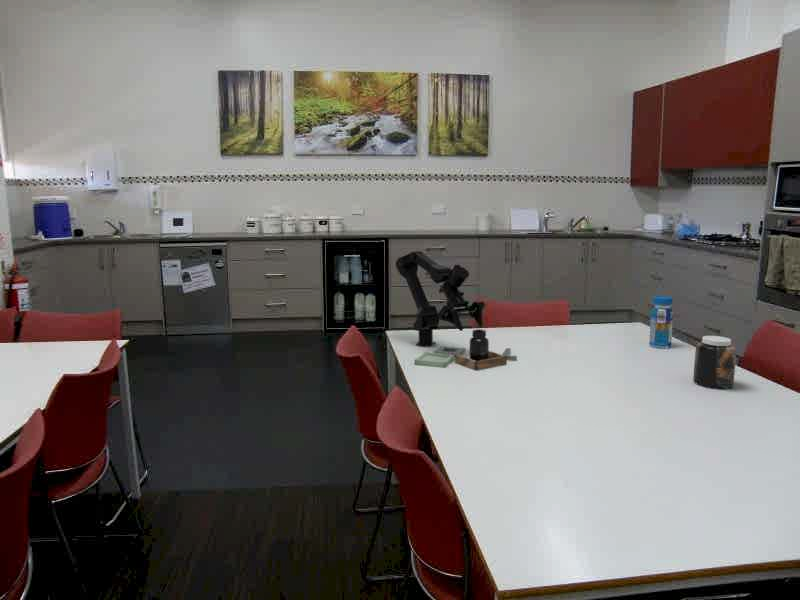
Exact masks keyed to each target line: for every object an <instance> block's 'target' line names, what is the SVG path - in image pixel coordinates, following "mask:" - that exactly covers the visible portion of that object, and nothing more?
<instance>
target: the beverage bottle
mask: <svg viewBox="0 0 800 600" xmlns="http://www.w3.org/2000/svg"><path fill="white" fill-rule="evenodd" d="M653 305H654V307H653V308H652V310H651V311H650V314H651V317H650V319H649V320H650V321H649V322H650V325H649V327H650V329H649V342H648V344H649V346H650V347H651V346H653V347H652V348H655V347H662V348H661V349H667V348H666V347H670V348H671V347H672V336H673V325H674V319H673V316H674V311H673V309H672V308H671V307H672V305H673V297H672V296H669V295H655V296H654V298H653Z"/></svg>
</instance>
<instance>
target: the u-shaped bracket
mask: <svg viewBox="0 0 800 600" xmlns="http://www.w3.org/2000/svg"><path fill="white" fill-rule="evenodd" d="M507 361H508V360H507V356H504V355H502V353H497V352H494V351H491V350H489V359H485V360H480V361H475V360H472V359H470V357H466V356H463V355H458V354H457V355H455V358H454V363H455V364H458V365H460V366H463V367H466V368H469V369H471V370H473V369H474V371H476V370H477V371H480V369H482V370H485V369H491V368H496V367H499V366H501V367H502V366H505V365H507V363H508V362H507Z"/></svg>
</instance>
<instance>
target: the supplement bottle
mask: <svg viewBox="0 0 800 600" xmlns="http://www.w3.org/2000/svg"><path fill="white" fill-rule="evenodd" d="M471 336H472V337H471V338H470V339H469V359H472V360H475V361H480V360H485V359H489V351H490V350H489V345H490V343H489V339H488V338H487V337H486V336H487V331H486V330H484V329H474V330H472V335H471Z"/></svg>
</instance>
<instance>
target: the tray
mask: <svg viewBox="0 0 800 600" xmlns="http://www.w3.org/2000/svg"><path fill="white" fill-rule="evenodd" d="M454 361H455V355H452V354H441V353H433V352H430V351H427V352H426V351H424V352H423V353H421V354H420V355H419V356H418V357H417V358H415V359H414V365H416V366H424V367H425V366H426V367H436V368H447V367H448V366H449V365H450V364H451V363H452V362H454Z"/></svg>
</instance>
